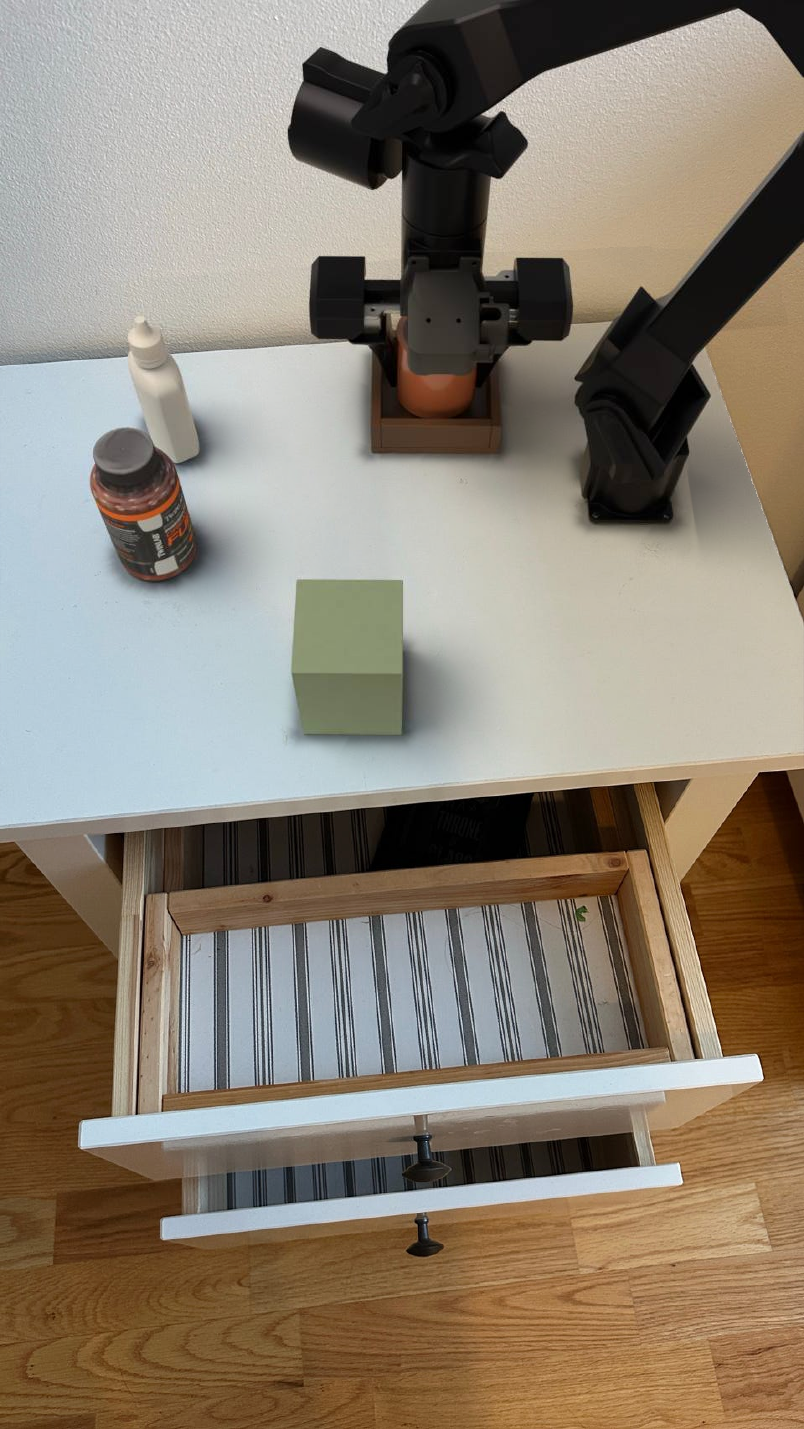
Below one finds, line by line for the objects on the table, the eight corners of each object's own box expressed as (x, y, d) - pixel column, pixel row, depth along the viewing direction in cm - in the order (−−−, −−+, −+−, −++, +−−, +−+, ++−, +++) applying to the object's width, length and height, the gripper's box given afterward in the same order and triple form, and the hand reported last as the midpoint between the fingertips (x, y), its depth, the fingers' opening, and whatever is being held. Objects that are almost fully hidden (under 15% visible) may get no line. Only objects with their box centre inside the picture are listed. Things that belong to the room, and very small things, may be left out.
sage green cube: (402, 649, 71) (403, 579, 62) (401, 735, 68) (402, 673, 60) (307, 648, 71) (296, 579, 62) (303, 734, 68) (290, 672, 59)
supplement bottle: (194, 585, 73) (162, 487, 63) (114, 583, 73) (69, 485, 63) (202, 520, 75) (173, 416, 65) (125, 518, 75) (84, 414, 65)
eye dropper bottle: (204, 411, 80) (174, 291, 69) (199, 465, 78) (168, 349, 67) (150, 412, 80) (112, 291, 69) (144, 466, 78) (103, 349, 67)
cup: (474, 360, 81) (479, 300, 75) (476, 420, 78) (482, 362, 72) (396, 360, 81) (396, 300, 75) (395, 419, 78) (395, 361, 72)
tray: (493, 359, 83) (497, 330, 80) (498, 453, 78) (502, 426, 76) (373, 358, 83) (372, 329, 80) (371, 452, 78) (370, 425, 76)
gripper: (296, 293, 61) (315, 461, 75) (596, 296, 61) (558, 463, 75) (305, 176, 66) (320, 354, 80) (582, 178, 66) (549, 356, 80)
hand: (435, 383), depth 78 cm, fingers closed on cup, 6 cm apart
